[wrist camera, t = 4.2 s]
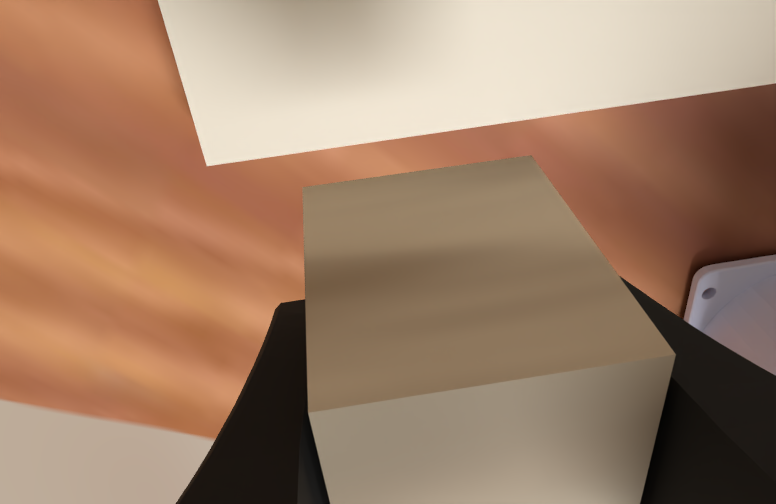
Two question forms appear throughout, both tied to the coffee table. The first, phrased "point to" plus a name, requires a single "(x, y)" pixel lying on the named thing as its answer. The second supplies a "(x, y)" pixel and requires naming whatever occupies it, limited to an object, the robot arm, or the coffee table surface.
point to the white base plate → (445, 64)
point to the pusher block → (473, 344)
